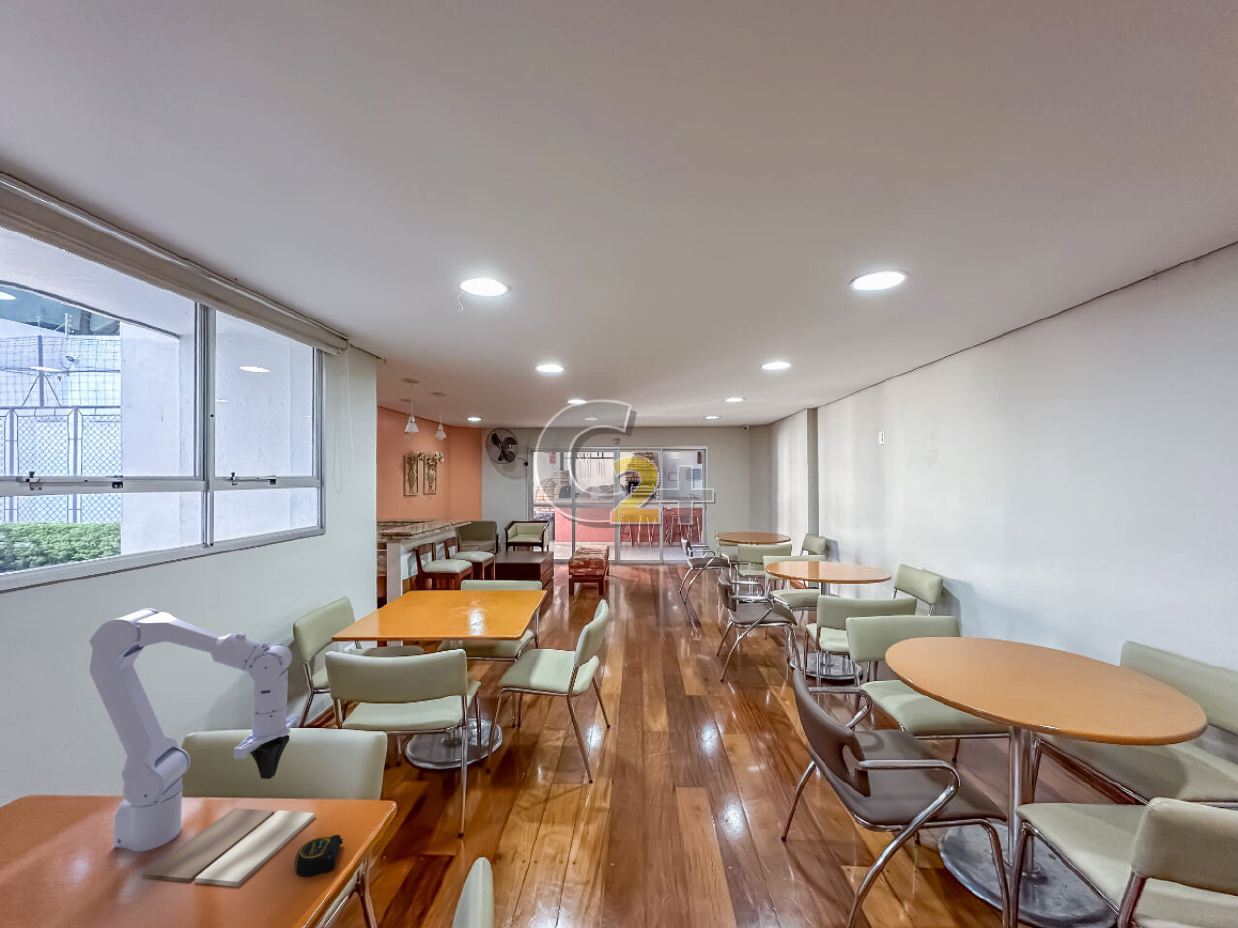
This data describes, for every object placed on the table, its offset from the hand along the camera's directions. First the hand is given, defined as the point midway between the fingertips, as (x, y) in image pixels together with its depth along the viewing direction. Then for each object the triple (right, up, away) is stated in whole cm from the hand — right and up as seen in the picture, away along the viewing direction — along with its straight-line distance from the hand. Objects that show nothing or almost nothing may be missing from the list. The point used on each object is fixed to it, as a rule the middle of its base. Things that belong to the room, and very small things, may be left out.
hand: (267, 776), depth 101 cm
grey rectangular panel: (-5, -9, -7) cm, 13 cm away
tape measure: (+18, -9, -12) cm, 23 cm away
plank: (+4, -9, -8) cm, 12 cm away
